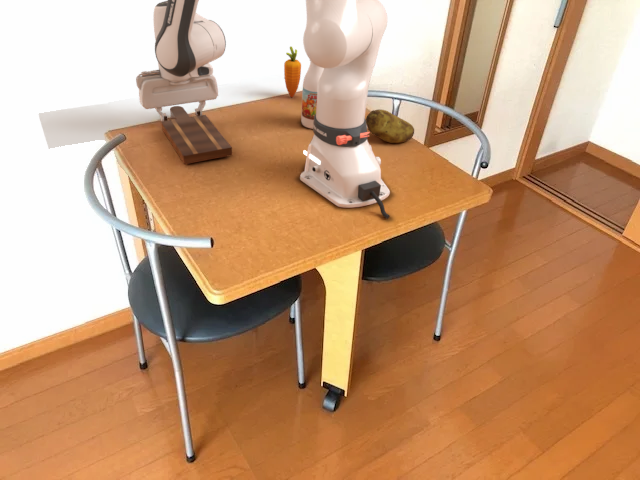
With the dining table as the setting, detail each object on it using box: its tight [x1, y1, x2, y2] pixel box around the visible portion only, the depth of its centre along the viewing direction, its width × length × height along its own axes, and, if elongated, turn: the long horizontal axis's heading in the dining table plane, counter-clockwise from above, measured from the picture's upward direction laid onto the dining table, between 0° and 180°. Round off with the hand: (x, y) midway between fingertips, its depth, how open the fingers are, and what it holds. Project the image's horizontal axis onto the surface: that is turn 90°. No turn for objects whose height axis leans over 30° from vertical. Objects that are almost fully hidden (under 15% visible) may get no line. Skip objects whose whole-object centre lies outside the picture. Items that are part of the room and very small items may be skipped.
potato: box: [365, 108, 415, 144], centre depth 147 cm, size 8×13×8 cm, turn 73°
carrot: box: [283, 46, 302, 98], centre depth 164 cm, size 5×5×15 cm
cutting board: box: [160, 105, 233, 165], centre depth 142 cm, size 28×12×3 cm, turn 28°
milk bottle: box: [300, 59, 324, 130], centre depth 148 cm, size 8×8×20 cm
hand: (181, 118), depth 148 cm, fingers open, 8 cm apart
